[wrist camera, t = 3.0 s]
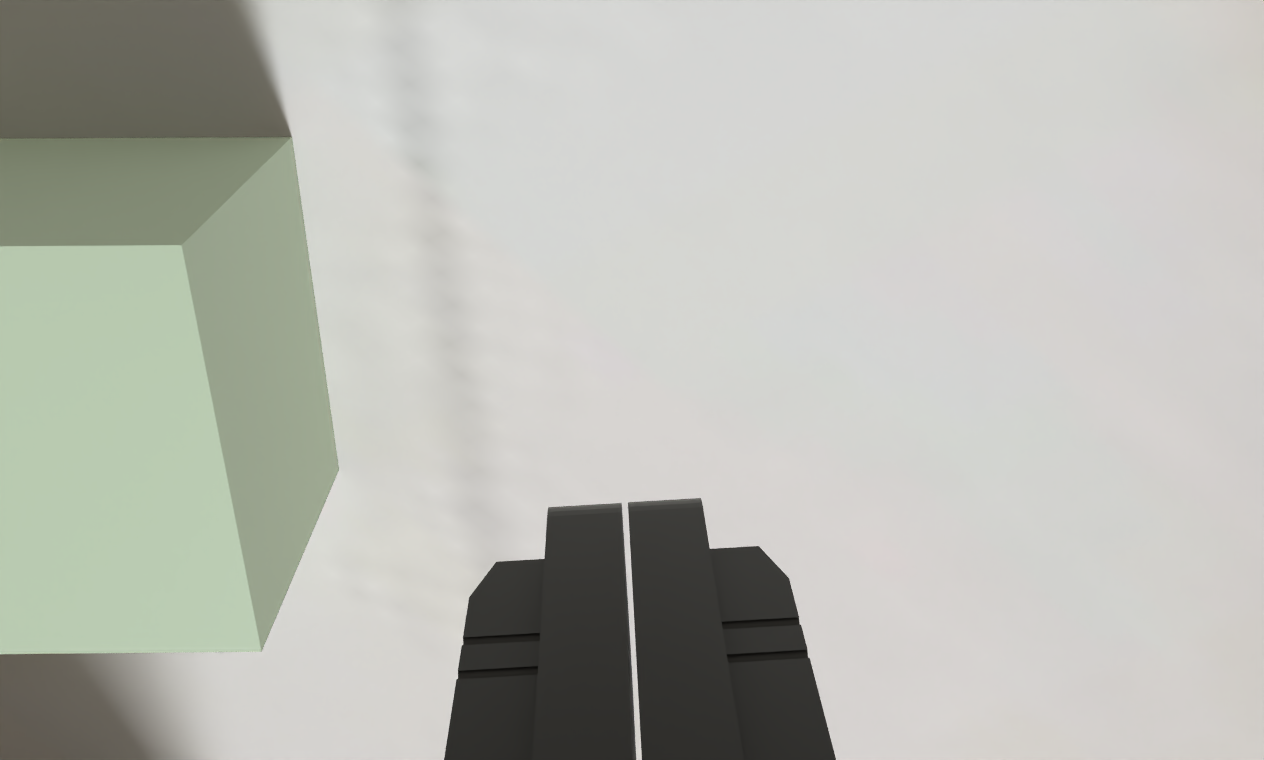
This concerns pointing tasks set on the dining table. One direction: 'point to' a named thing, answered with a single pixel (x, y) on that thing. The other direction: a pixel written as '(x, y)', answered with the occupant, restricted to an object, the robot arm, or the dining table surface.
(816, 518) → the dining table surface
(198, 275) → the sage block
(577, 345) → the dining table surface
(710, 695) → the robot arm
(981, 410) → the dining table surface
